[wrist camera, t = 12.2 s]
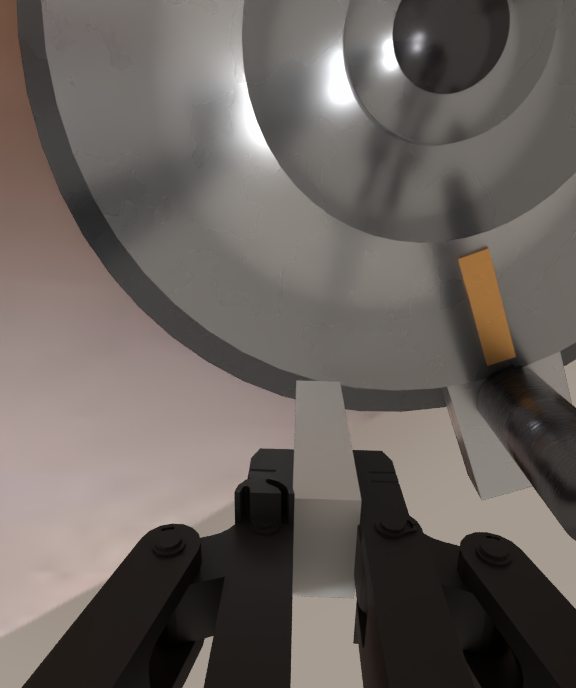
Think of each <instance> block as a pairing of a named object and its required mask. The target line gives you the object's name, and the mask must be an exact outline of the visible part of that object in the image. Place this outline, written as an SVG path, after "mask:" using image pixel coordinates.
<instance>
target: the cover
mask: <svg viewBox="0 0 576 688" xmlns="http://www.w3.org/2000/svg"><path fill="white" fill-rule="evenodd" d="M242 51H243V66H244V72H245V78H246V83H247V89H248V94H249V98H250V101H251V104H252V108H253V111H254V114H255V117H256V121H257V123H258V125H259V127H260V130H261V132H262V134H263V136H264V139H265V141H266V143H267V145H268V147H269V149H270V150H271V152H272V154H273V155H274V157H275V159H276V160H277V162H278V163H279V165H280V167H281V168H282V169H283V170H284V172H285V173H286V174H287V176H288V177H289V178H290V179H291V181H292V182H293V183H294V184H295V186H296V187H297V188H298V189H300V190H301V191H302V192H303V193H304V194H305V195H306V196H307V197H308V198H309V199H310V200H311V201H312V202H313V203H314V204H316V205H317V206H318V207H320V208H321V209H322V210H324V211H325V212H327V213H328V214H329V215H331V216H332V217H334V218H336V219H338V220H339V221H341V222H343V223H345V224H347V225H349V226H350V227H352V228H355V229H358V230H360V231H363V232H365V233H368V234H371V235H373V236H378V237H382V238H386V239H391V240H395V241H405V242H415V243H427V242H445V241H451V240H456V239H462V238H467V237H470V236H474V235H477V234H480V233H484V232H487V231H490V230H492V229H494V228H497V227H499V226H501V225H504V224H506V223H508V222H510V221H512V220H514V219H516V218H518V217H519V216H521V215H523V214H524V213H526V212H528V211H530V210H531V209H533V208H534V207H536V206H537V205H538V204H540V203H541V202H542V201H544V200H545V199H546V198H548V197H549V196H550V195H552V194H553V193H554V192H556V191H557V190H558V189H559V188H560V187H561V186H562V185H563V184H564V183H565V182H566V181H567V180H568V179H569V178H571V177H572V176H573V175H574V174H575V173H576V0H244V6H243V22H242Z"/></svg>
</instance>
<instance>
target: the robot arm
mask: <svg viewBox="0 0 576 688" xmlns="http://www.w3.org/2000/svg"><path fill="white" fill-rule="evenodd" d="M355 589H356V596H357V604H356V617H355V630H354V642H353V643H355V644H359V653H360V661H361V670H362V679H363V687H364V688H576V609H575V608H574V607H573V606H572V605H571V604H570V602H569V601H568V600H567V599H566V598H565V597H564V596H563V595H562V594H561V593H560V592H559V590H558V589H557V588H556V587H555V586H554V585H553V584H552V583H551V582H550V581H549V580H548V578H547V577H546V576H545V575H544V574H543V573H542V572H541V571H540V570H539V569H538V567H537V566H536V565H535V564H534V563H533V562H532V561H531V560H530V559H529V558H528V557H527V556H526V554H525V553H524V552H523V551H522V550H521V549H520V548H519V547H517V546H516V545H515V544H514V543H513V542H511V541H509V540H507V539H505V538H503V537H501V536H499V535H495V534H491V533H487V532H485V533H484V532H479V533H478V532H475V533H472V534H469V535H466V536H465V537H464V538H463V539H462V541H461V543H460V546H457V545H453V544H450V543H445V542H442V541H439V540H436V539H433V538H431V537H429V536H427V535H426V534H424V533H423V531H422V528H421V527H420V525H419V524H418V522H417V521H416V520H415V519H413V518H412V517H411V516H409V513H408V510H407V507H406V504H405V501H404V498H403V494H402V491H401V488H400V485H399V483H398V479H397V476H396V472H395V469H394V466H393V462H392V461H391V459H389V458H388V457H387V456H386V455H385V454H384V453H383V452H382V451H367V450H365V451H364V450H352V445H351V440H350V434H349V429H348V423H347V418H346V412H345V407H344V401H343V396H342V390H341V385H340V382H335V381H297V380H296V408H295V439H294V450H290V449H259V450H258V452H257V453H256V454H255V455H254V456H253V457H252V458H251V463H250V468H249V474H248V479H247V480H245V481H244V482H242V483H241V484H239V485H238V487H237V488H236V490H235V525H233V526H232V527H231V528H230V529H228V530H226V531H224V532H222V533H219V534H215V535H212V536H207V537H202V538H200V537H199V534H198V533H197V532H196V531H195V530H194V529H193V528H191V527H189V526H186V525H184V524H168V525H163V526H159V527H157V528H155V529H153V530H151V531H149V532H148V533H147V534H146V535H145V536H143V537H142V538H141V539H140V541H139V542H138V543H137V544H136V546H135V547H134V548H133V549H132V551H131V552H130V553H129V554H128V556H127V557H126V558H125V559H124V561H123V562H122V563H121V564H120V566H119V567H118V568H117V569H116V571H115V572H114V573H113V574H112V576H111V577H110V578H109V579H108V581H107V582H106V583H105V584H104V586H103V587H102V588H101V589H100V591H99V592H98V593H97V594H96V596H95V597H94V598H93V599H92V600H91V602H90V603H89V604H88V605H87V607H86V608H85V609H84V610H83V612H82V613H81V614H80V615H79V617H78V618H77V619H76V621H75V622H74V623H73V624H72V625H71V627H70V628H69V629H68V630H67V632H66V633H65V634H64V635H63V637H62V638H61V639H60V640H59V642H58V643H57V644H56V645H55V647H54V648H53V649H52V650H51V652H50V653H49V654H48V655H47V657H46V658H45V659H44V660H43V662H42V663H41V664H40V666H39V667H38V668H37V669H36V670H35V672H34V673H33V674H32V675H31V677H30V678H29V679H28V680H27V682H26V683H25V684H24V685H23V687H22V688H182V687H183V685H184V683H185V681H186V679H187V677H188V675H189V673H190V671H191V669H192V667H193V665H194V663H195V661H196V658H197V657H198V654H199V652H200V650H201V648H202V646H203V643H204V639H205V638H207V637H211V636H214V637H213V642H212V647H211V652H210V658H209V663H208V668H207V673H206V678H205V684H204V688H290V680H291V635H292V632H291V631H292V596H301V597H329V598H354V591H355Z"/></svg>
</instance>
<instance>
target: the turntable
mask: <svg viewBox="0 0 576 688" xmlns="http://www.w3.org/2000/svg"><path fill="white" fill-rule="evenodd" d="M41 4H42V15H43V25H44V36H45V47H46V54H47V59H48V64H49V69H50V74H51V78H52V83H53V88H54V93H55V98H56V103H57V106H58V109H59V113H60V116H61V119H62V122H63V125H64V128H65V131H66V134H67V137H68V140H69V143H70V146H71V149H72V152H73V155H74V157H75V159H76V161H77V164H78V166H79V168H80V170H81V172H82V175H83V177H84V179H85V181H86V183H87V186H88V188H89V190H90V192H91V194H92V196H93V199H94V200H95V202H96V204H97V205H98V207H99V208H100V210H101V212H102V213H103V215H104V217H105V218H106V220H107V222H108V223H109V225H110V227H111V228H112V230H113V232H114V233H115V235H116V237H117V238H118V240H119V241H120V242H121V243H122V245H123V246H124V247H125V249H126V250H127V251H128V252H129V254H130V255H131V256H132V258H133V259H134V260H135V262H136V263H137V264H138V265H139V267H140V268H141V269H142V271H143V272H144V273H145V274H146V275H147V276H148V277H149V278H150V279H151V280H152V281H153V282H154V283H155V284H156V285H157V286H158V287H159V288H160V290H161V291H162V292H163V293H164V294H165V295H166V296H167V297H168V298H169V299H170V300H171V301H172V302H173V303H174V304H175V305H177V306H178V307H179V308H180V309H182V310H183V311H184V312H185V313H187V314H188V315H189V316H190V317H192V318H193V319H194V320H195V321H197V322H198V323H199V324H200V325H202V326H203V327H204V328H205V329H207V330H208V331H209V332H211V333H213V334H214V335H216V336H218V337H219V338H221V339H222V340H224V341H226V342H227V343H229V344H231V345H232V346H234V347H235V348H237V349H239V350H240V351H242V352H244V353H246V354H248V355H250V356H253V357H255V358H257V359H259V360H261V361H264V362H266V363H268V364H270V365H272V366H274V367H277V368H279V369H282V370H285V371H288V372H291V373H294V374H298V375H301V376H304V377H307V378H310V379H313V380H317V381H335V382H340V385H343V386H348V387H354V388H364V389H380V390H396V391H397V390H415V389H433V388H441V389H442V392H443V395H444V399H445V402H446V405H447V408H448V412H449V415H450V418H451V422H452V425H453V428H454V431H455V434H456V438H457V441H458V444H459V447H460V451H461V454H462V457H463V461H464V464H465V467H466V470H467V474H468V476H469V478H470V480H471V481H472V483H473V485H474V487H475V489H476V491H477V492H478V494H479V496H480V498H481V500H486V499H489V498H493V497H496V496H500V495H504V494H507V493H511V492H514V491H518V490H521V489H525V488H528V487H532V486H533V487H534V488H535V490H536V491H537V493H538V494H539V495H540V497H541V498H542V499H543V501H544V502H545V503H546V505H547V506H548V508H549V509H550V510H551V512H552V513H553V515H554V516H555V517H556V519H557V520H558V521H559V523H560V524H561V525H562V527H563V528H564V530H565V531H566V532H567V533H568V534H569V536H570V537H572V538H573V539H574V540H576V408H575V407H574V406H573V405H572V403H571V398H570V394H569V389H568V385H567V380H566V376H565V371H564V367H563V362H562V357H561V353H560V351H561V350H563V349H565V348H567V347H569V346H570V345H572V344H574V343H576V173H575V174H574V175H573V176H572V177H571V178H569V179H568V180H567V181H566V182H565V183H564V184H563V185H562V186H561V187H560V188H559V189H558V190H557V191H556V192H554V193H553V194H552V195H550V196H549V197H548V198H546V199H545V200H544V201H542V202H541V203H540V204H538V205H537V206H536V207H534V208H533V209H531V210H530V211H528V212H526V213H524V214H523V215H521V216H519V217H518V218H516V219H514V220H512V221H510V222H508V223H506V224H504V225H501V226H499V227H497V228H494V229H492V230H490V231H487V232H484V233H480V234H477V235H474V236H470V237H467V238H462V239H456V240H451V241H445V242H427V243H415V242H405V241H395V240H391V239H386V238H382V237H378V236H373V235H371V234H368V233H365V232H363V231H360V230H358V229H355V228H352V227H350V226H349V225H347V224H345V223H343V222H341V221H339V220H338V219H336V218H334V217H332V216H331V215H329V214H328V213H327V212H325V211H324V210H322V209H321V208H320V207H318V206H317V205H316V204H314V203H313V202H312V201H311V200H310V199H309V198H308V197H307V196H306V195H305V194H304V193H303V192H302V191H301V190H300V189H298V188H297V187H296V186H295V184H294V183H293V182H292V181H291V179H290V178H289V177H288V176H287V174H286V173H285V172H284V170H283V169H282V168H281V167H280V165H279V163H278V162H277V160H276V159H275V157H274V155H273V154H272V152H271V150H270V149H269V147H268V145H267V143H266V141H265V139H264V136H263V134H262V132H261V130H260V127H259V125H258V123H257V121H256V117H255V114H254V111H253V108H252V104H251V101H250V98H249V94H248V89H247V83H246V78H245V72H244V66H243V51H242V22H243V6H244V0H41Z"/></svg>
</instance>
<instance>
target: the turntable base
mask: <svg viewBox="0 0 576 688" xmlns="http://www.w3.org/2000/svg"><path fill="white" fill-rule="evenodd" d="M17 15H18V37H19V43H20V50H21V56H22V63H23V69H24V75H25V82H26V88H27V94H28V97H29V101H30V105H31V108H32V112H33V116H34V119H35V123H36V127H37V130H38V134H39V138H40V141H41V145H42V147H43V150H44V152H45V155H46V157H47V160H48V163H49V165H50V168H51V170H52V173H53V175H54V178H55V180H56V183H57V185H58V188H59V190H60V193H61V194H62V196H63V198H64V200H65V202H66V204H67V206H68V208H69V209H70V211H71V213H72V215H73V217H74V219H75V221H76V223H77V224H78V226H79V228H80V230H81V232H82V234H83V236H84V237H85V238H86V240H87V241H88V243H89V244H90V246H91V247H92V249H93V250H94V251H95V253H96V254H97V256H98V257H99V259H100V260H101V262H102V263H103V264H104V266H105V267H106V269H107V270H108V272H109V273H110V274H111V276H112V277H113V278H114V279H115V280H116V281H117V282H118V284H119V285H120V286H121V287H122V288H123V289H124V290H125V291H126V293H127V294H128V295H129V296H130V297H131V298H132V299H133V301H134V302H135V303H136V304H137V305H138V306H139V307H140V308H141V309H142V310H143V311H144V312H145V313H146V314H147V315H148V316H150V317H151V318H152V319H153V320H154V321H155V322H156V323H157V324H159V325H160V326H161V327H162V328H163V329H164V330H165V331H166V332H167V333H169V334H170V335H171V336H172V337H173V338H175V339H176V340H177V341H179V342H180V343H182V344H183V345H185V346H186V347H187V348H189V349H190V350H192V351H193V352H195V353H196V354H197V355H199V356H200V357H202V358H203V359H205V360H206V361H208V362H209V363H211V364H213V365H215V366H217V367H219V368H221V369H222V370H224V371H226V372H228V373H230V374H232V375H234V376H235V377H237V378H239V379H241V380H243V381H245V382H248V383H251V384H253V385H256V386H258V387H261V388H263V389H266V390H268V391H271V392H274V393H276V394H279V395H281V396H285V397H289V398H293V399H296V380H297V381H317V380H313V379H310V378H307V377H304V376H301V375H298V374H294V373H291V372H288V371H285V370H282V369H279V368H277V367H274V366H272V365H270V364H268V363H266V362H264V361H261V360H259V359H257V358H255V357H253V356H250V355H248V354H246V353H244V352H242V351H240V350H239V349H237V348H235V347H234V346H232V345H231V344H229V343H227V342H226V341H224V340H222V339H221V338H219V337H218V336H216V335H214V334H213V333H211V332H209V331H208V330H207V329H205V328H204V327H203V326H202V325H200V324H199V323H198V322H197V321H195V320H194V319H193V318H192V317H190V316H189V315H188V314H187V313H185V312H184V311H183V310H182V309H180V308H179V307H178V306H177V305H175V304H174V303H173V302H172V301H171V300H170V299H169V298H168V297H167V296H166V295H165V294H164V293H163V292H162V291H161V290H160V288H159V287H158V286H157V285H156V284H155V283H154V282H153V281H152V280H151V279H150V278H149V277H148V276H147V275H146V274H145V273H144V272H143V271H142V269H141V268H140V267H139V265H138V264H137V263H136V262H135V260H134V259H133V258H132V256H131V255H130V254H129V252H128V251H127V250H126V249H125V247H124V246H123V245H122V243H121V242H120V241H119V240H118V238H117V237H116V235H115V233H114V232H113V230H112V228H111V227H110V225H109V223H108V222H107V220H106V218H105V217H104V215H103V213H102V212H101V210H100V208H99V207H98V205H97V204H96V202H95V200H94V199H93V196H92V194H91V192H90V190H89V188H88V186H87V183H86V181H85V179H84V177H83V175H82V172H81V170H80V168H79V166H78V164H77V161H76V159H75V157H74V155H73V152H72V149H71V146H70V143H69V140H68V137H67V134H66V131H65V128H64V125H63V122H62V119H61V116H60V113H59V109H58V106H57V103H56V98H55V93H54V88H53V83H52V78H51V74H50V69H49V64H48V59H47V54H46V47H45V36H44V25H43V15H42V4H41V0H17ZM560 353H561V357H562V362H563V366H565V365H567V364H569V363H570V362H572V361H574V360H575V359H576V343H574V344H572V345H570V346H569V347H567V348H565V349H563V350H561V351H560ZM341 390H342V396H343V401H344V407H345V409H350V410H357V411H412V410H420V409H430V408H440V407H446V406H447V405H446V402H445V399H444V395H443V392H442V389H441V388H433V389H415V390H397V391H396V390H380V389H364V388H354V387H348V386H343V385H341Z"/></svg>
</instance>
